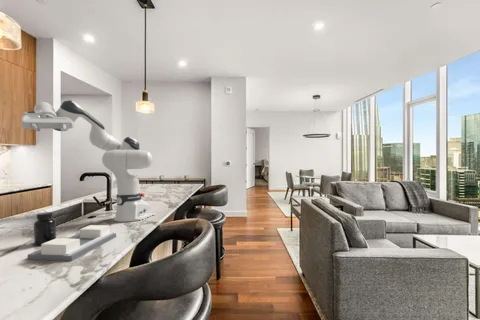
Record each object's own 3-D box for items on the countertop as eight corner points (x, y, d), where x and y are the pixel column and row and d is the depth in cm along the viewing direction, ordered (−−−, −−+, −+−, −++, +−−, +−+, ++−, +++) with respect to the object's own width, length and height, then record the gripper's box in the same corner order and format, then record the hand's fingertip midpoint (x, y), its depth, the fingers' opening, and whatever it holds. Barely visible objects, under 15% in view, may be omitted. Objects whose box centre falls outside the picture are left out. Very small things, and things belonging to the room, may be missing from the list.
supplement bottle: (50, 239, 99) (50, 210, 99) (59, 241, 96) (59, 212, 96) (30, 244, 93) (30, 214, 93) (39, 247, 90) (39, 216, 90)
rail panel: (81, 235, 103) (81, 224, 103) (116, 236, 102) (116, 225, 102) (27, 259, 79) (27, 244, 79) (71, 260, 78) (71, 245, 78)
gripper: (71, 124, 130) (76, 134, 122) (21, 123, 116) (23, 136, 108) (71, 113, 128) (76, 123, 119) (19, 111, 114) (21, 123, 105)
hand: (50, 129), depth 114 cm, fingers open, 8 cm apart
